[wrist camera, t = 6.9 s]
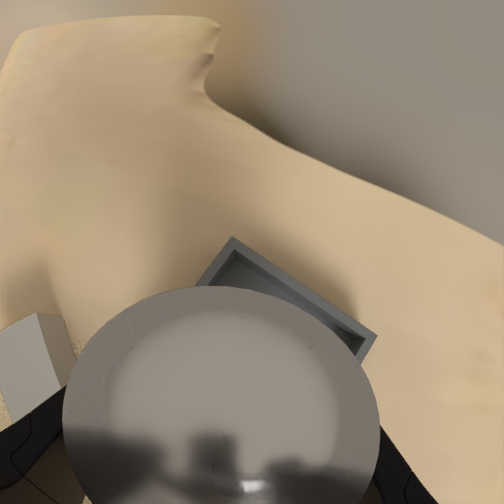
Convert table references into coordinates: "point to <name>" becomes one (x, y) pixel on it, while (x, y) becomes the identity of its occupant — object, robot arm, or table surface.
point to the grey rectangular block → (34, 362)
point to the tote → (283, 292)
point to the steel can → (219, 405)
